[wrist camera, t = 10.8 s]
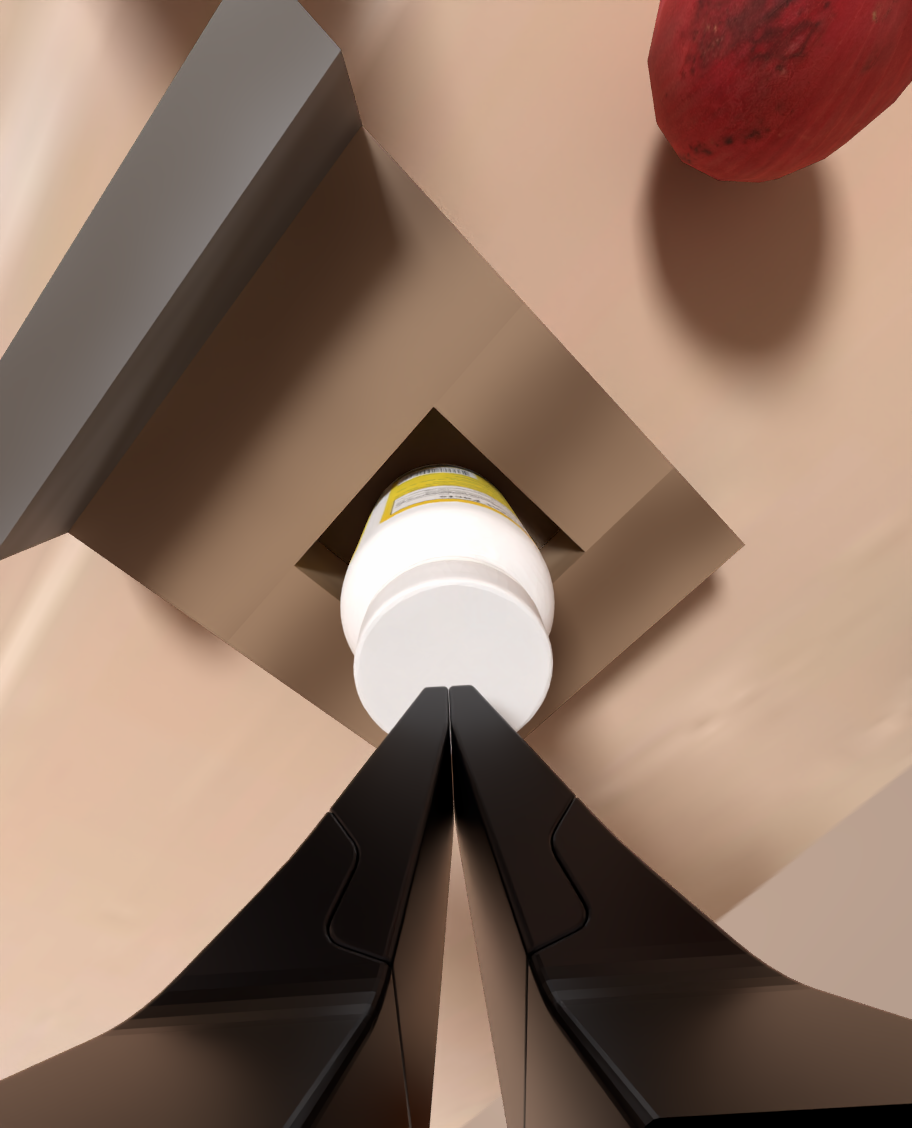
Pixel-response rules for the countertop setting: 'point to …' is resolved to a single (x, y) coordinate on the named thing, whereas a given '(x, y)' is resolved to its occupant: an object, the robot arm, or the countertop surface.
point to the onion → (774, 79)
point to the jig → (310, 378)
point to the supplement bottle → (447, 598)
